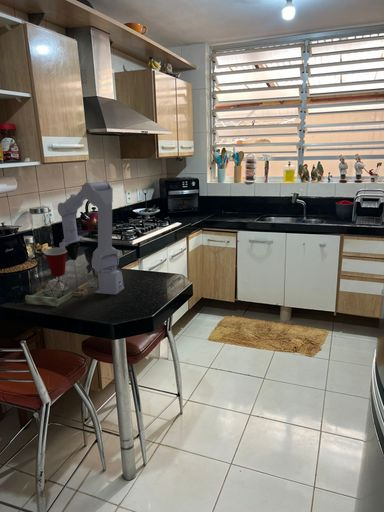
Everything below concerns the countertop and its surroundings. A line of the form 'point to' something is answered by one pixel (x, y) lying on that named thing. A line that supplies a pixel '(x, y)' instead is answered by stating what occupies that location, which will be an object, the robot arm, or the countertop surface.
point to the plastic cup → (56, 260)
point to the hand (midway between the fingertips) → (73, 259)
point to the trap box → (53, 301)
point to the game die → (54, 288)
